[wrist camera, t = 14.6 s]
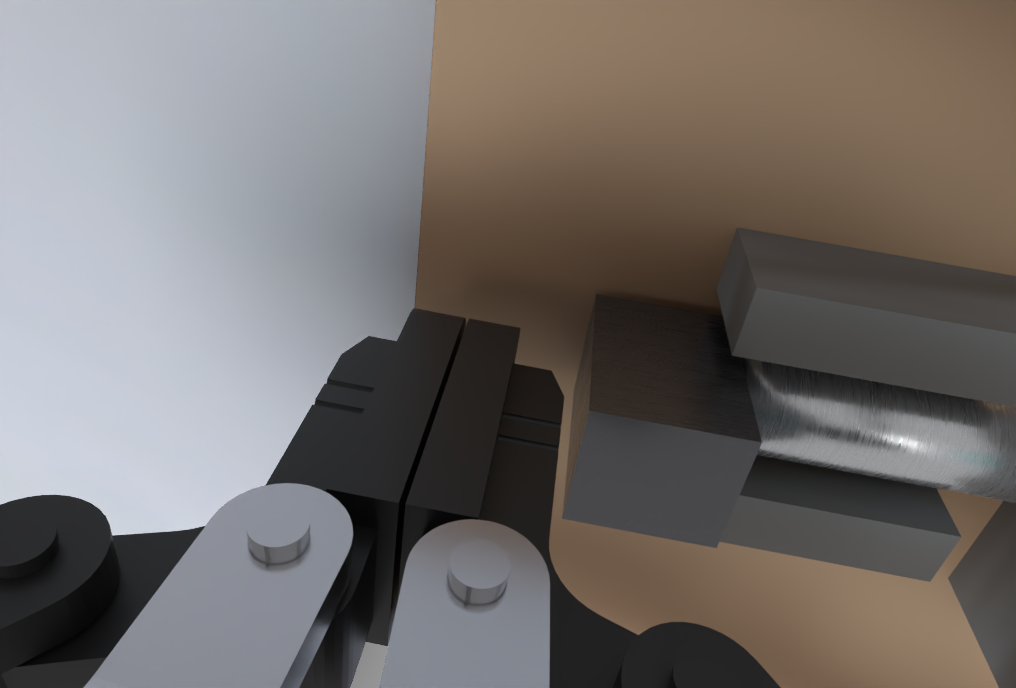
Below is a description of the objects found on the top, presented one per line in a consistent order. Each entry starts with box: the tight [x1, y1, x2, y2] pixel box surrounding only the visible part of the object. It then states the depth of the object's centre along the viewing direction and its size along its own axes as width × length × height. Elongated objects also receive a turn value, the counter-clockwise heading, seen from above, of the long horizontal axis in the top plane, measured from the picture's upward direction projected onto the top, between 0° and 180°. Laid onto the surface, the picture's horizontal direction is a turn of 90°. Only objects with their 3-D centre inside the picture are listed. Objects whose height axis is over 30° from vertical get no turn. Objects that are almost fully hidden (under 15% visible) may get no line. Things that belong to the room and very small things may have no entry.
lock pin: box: [562, 294, 1016, 548], centre depth 10 cm, size 2×9×3 cm, turn 82°
